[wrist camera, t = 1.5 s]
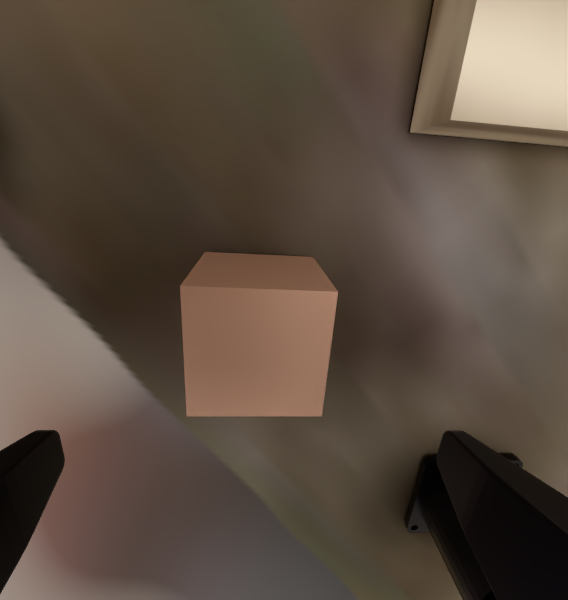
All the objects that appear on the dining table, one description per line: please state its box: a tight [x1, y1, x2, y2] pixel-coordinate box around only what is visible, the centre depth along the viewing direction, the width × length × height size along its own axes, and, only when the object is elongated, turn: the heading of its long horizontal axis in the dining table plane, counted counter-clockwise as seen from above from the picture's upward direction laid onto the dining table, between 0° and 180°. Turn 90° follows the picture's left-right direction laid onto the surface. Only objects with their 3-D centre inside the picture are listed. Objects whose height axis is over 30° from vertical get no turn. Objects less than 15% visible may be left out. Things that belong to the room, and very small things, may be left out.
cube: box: [180, 252, 338, 416], centre depth 13 cm, size 5×5×5 cm
